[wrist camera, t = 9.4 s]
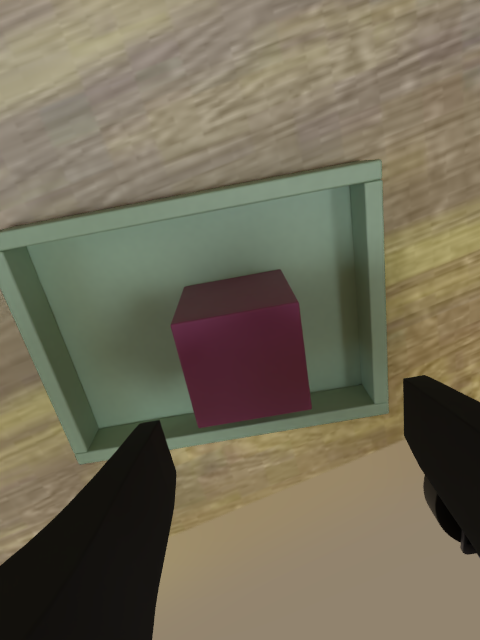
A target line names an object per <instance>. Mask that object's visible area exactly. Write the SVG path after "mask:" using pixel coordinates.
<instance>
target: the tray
mask: <svg viewBox="0 0 480 640" xmlns="http://www.w3.org/2000/svg"><path fill="white" fill-rule="evenodd" d="M380 179H382V161H381V160H364V161H355V162H350V163H345V164H339V165H334V166H329V167H324V168H318V169H313V170H308V171H303V172H297V173H292V174H287V175H282V176H276V177H271V178H266V179H261V180H256V181H250V182H245V183H240V184H235V185H229V186H224V187H219V188H214V189H208V190H203V191H198V192H193V193H187V194H182V195H177V196H172V197H166V198H161V199H156V200H151V201H145V202H140V203H135V204H130V205H125V206H119V207H114V208H109V209H104V210H98V211H93V212H88V213H83V214H77V215H72V216H67V217H62V218H56V219H51V220H46V221H41V222H35V223H30V224H25V225H20V226H15V227H10V228H6V229H2V230H0V289H1V291H2V293H3V295H4V298H5V300H6V302H7V304H8V306H9V309H10V311H11V313H12V315H13V318H14V320H15V322H16V324H17V327H18V329H19V331H20V333H21V336H22V338H23V340H24V342H25V345H26V347H27V349H28V351H29V353H30V356H31V358H32V360H33V362H34V365H35V367H36V369H37V371H38V374H39V376H40V378H41V380H42V383H43V385H44V387H45V389H46V392H47V394H48V396H49V398H50V400H51V403H52V405H53V407H54V409H55V412H56V414H57V416H58V418H59V421H60V423H61V425H62V427H63V430H64V432H65V434H66V436H67V438H68V441H69V443H70V445H71V447H72V450H73V452H74V453H75V457H76V459H77V461H78V463H79V464H80V465H81V464H87V463H93V462H99V461H105V460H109V459H110V458H111V456H112V455H113V454H114V453H115V452H116V451H117V449H118V448H119V447H120V446H121V445H122V443H123V442H124V441H125V440H126V439H127V437H128V436H129V435H130V434H131V433H132V431H133V430H134V429H135V428H136V427H137V426H138V425H139V424H140V423H145V422H150V421H156V420H160V423H161V426H162V429H163V432H164V435H165V438H166V442H167V445H168V448H169V450H171V449H177V448H183V447H189V446H195V445H201V444H207V443H213V442H219V441H225V440H231V439H237V438H244V437H250V436H256V435H262V434H268V433H274V432H280V431H286V430H292V429H298V428H304V427H310V426H316V425H322V424H328V423H334V422H340V421H346V420H352V419H358V418H364V417H370V416H376V415H382V414H388V413H389V407H388V368H387V331H386V295H385V259H384V222H383V186H382V180H380ZM279 269H280V270H281V271H282V272H283V274H284V276H285V278H286V280H287V282H288V284H289V285H290V287H291V289H292V291H293V293H294V295H295V296H296V298H297V300H298V302H299V306H300V314H301V323H302V331H303V339H304V347H305V355H306V363H307V371H308V379H309V387H310V395H311V404H312V409H311V410H306V411H300V412H294V413H288V414H282V415H276V416H270V417H264V418H258V419H252V420H246V421H240V422H234V423H228V424H222V425H216V426H210V427H204V428H198V426H197V422H196V418H195V415H194V411H193V407H192V404H191V400H190V396H189V393H188V389H187V385H186V382H185V378H184V374H183V371H182V367H181V363H180V360H179V356H178V352H177V349H176V345H175V341H174V338H173V334H172V330H171V327H170V325H171V322H172V319H173V316H174V314H175V311H176V308H177V305H178V303H179V300H180V297H181V294H182V291H183V289H184V287H185V286H191V285H196V284H202V283H207V282H213V281H218V280H224V279H229V278H235V277H240V276H246V275H251V274H257V273H262V272H268V271H273V270H279Z"/></svg>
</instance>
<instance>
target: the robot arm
mask: <svg viewBox="0 0 480 640" xmlns="http://www.w3.org/2000/svg"><path fill="white" fill-rule="evenodd" d="M403 392H404V436H405V438H406V440H407V442H408V444H409V446H410V448H411V450H412V453H413V454H414V456H415V458H416V460H417V462H418V464H419V466H420V468H421V469H422V471H423V472H424V474H425V475H426V477H427V478H428V480H429V481H430V483H431V484H432V486H433V487H434V489H435V490H436V492H437V493H438V495H439V496H440V498H441V499H442V501H443V502H444V504H445V505H446V507H447V508H448V510H449V511H450V512H451V514H452V515H453V517H454V518H455V520H456V521H457V523H458V524H459V526H460V527H461V529H462V532H461V546H460V548H461V550H462V552H463V553H464V554H467V555H469V554H476V553H477V555H478V556H479V558H480V402H478V401H476V400H474V399H472V398H470V397H468V396H466V395H464V394H462V393H460V392H458V391H456V390H454V389H453V388H451V387H449V386H447V385H445V384H443V383H441V382H438V381H436V380H434V379H432V378H430V377H428V376H425V375H423V376H417V377H411V378H405V379H403ZM175 489H176V470H175V466H174V463H173V460H172V457H171V454H170V451H169V448H168V445H167V442H166V438H165V435H164V432H163V429H162V426H161V423H160V420H156V421H150V422H145V423H140V424H139V425H138V426H137V427H136V428H135V429H134V430H133V431H132V433H131V434H130V435H129V436H128V437H127V439H126V440H125V441H124V442H123V443H122V445H121V446H120V447H119V448H118V449H117V451H116V452H115V453H114V454H113V455H112V456H111V458H110V459H109V460H108V461H107V462H106V463H105V465H104V466H103V467H102V468H101V469H100V470H99V472H98V473H97V474H96V475H95V476H94V477H93V478H92V479H91V481H90V482H89V483H88V484H87V485H86V486H85V487H84V488H83V489H82V490H81V491H80V492H79V493H78V495H77V496H76V497H75V498H74V499H73V500H72V501H71V502H70V503H69V504H68V505H67V506H66V507H65V508H64V509H63V510H62V511H61V512H60V513H59V514H58V515H57V516H56V517H55V518H54V519H53V520H52V521H51V522H50V523H49V524H48V525H47V526H46V527H44V528H43V529H42V530H41V531H40V532H39V533H38V534H37V535H36V536H35V537H34V538H33V539H31V540H30V541H29V542H28V543H27V544H26V545H25V546H23V547H22V548H21V549H20V550H19V551H17V552H16V553H15V554H14V555H13V556H11V557H10V558H9V559H8V560H7V561H5V562H4V563H3V564H2V565H1V566H0V640H152V634H153V626H154V616H155V607H156V601H157V594H158V587H159V583H160V578H161V573H162V568H163V562H164V557H165V552H166V547H167V542H168V537H169V532H170V526H171V521H172V516H173V510H174V502H175Z"/></svg>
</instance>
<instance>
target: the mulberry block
mask: <svg viewBox="0 0 480 640" xmlns="http://www.w3.org/2000/svg"><path fill="white" fill-rule="evenodd" d="M170 327H171V330H172V334H173V338H174V341H175V345H176V349H177V352H178V356H179V360H180V363H181V367H182V371H183V374H184V378H185V382H186V385H187V389H188V393H189V396H190V400H191V404H192V407H193V411H194V415H195V418H196V422H197V426H198V428H204V427H210V426H216V425H222V424H228V423H234V422H240V421H246V420H252V419H258V418H264V417H270V416H276V415H282V414H288V413H294V412H300V411H306V410H311V409H312V404H311V395H310V387H309V379H308V371H307V363H306V355H305V347H304V339H303V331H302V323H301V314H300V306H299V302H298V300H297V298H296V296H295V295H294V293H293V291H292V289H291V287H290V285H289V284H288V282H287V280H286V278H285V276H284V274H283V272H282V271H281V270H280V269H279V270H273V271H268V272H262V273H257V274H251V275H246V276H240V277H235V278H229V279H224V280H218V281H213V282H207V283H202V284H196V285H191V286H185V287H184V289H183V291H182V294H181V297H180V300H179V303H178V305H177V308H176V311H175V314H174V316H173V319H172V322H171V325H170Z"/></svg>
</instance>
